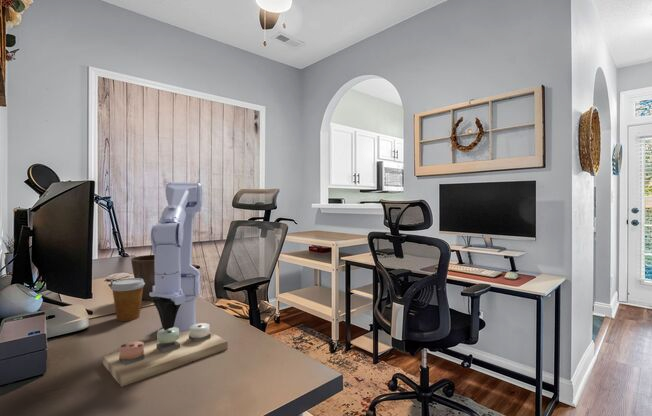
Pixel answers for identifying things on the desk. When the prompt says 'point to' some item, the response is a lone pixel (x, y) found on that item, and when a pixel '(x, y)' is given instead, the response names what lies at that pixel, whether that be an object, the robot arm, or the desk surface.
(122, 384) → the button panel
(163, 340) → the sage button
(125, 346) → the terracotta button
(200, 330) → the off-white button
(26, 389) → the desk surface
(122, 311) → the disposable coffee cup
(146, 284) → the plant pot
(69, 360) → the desk surface
